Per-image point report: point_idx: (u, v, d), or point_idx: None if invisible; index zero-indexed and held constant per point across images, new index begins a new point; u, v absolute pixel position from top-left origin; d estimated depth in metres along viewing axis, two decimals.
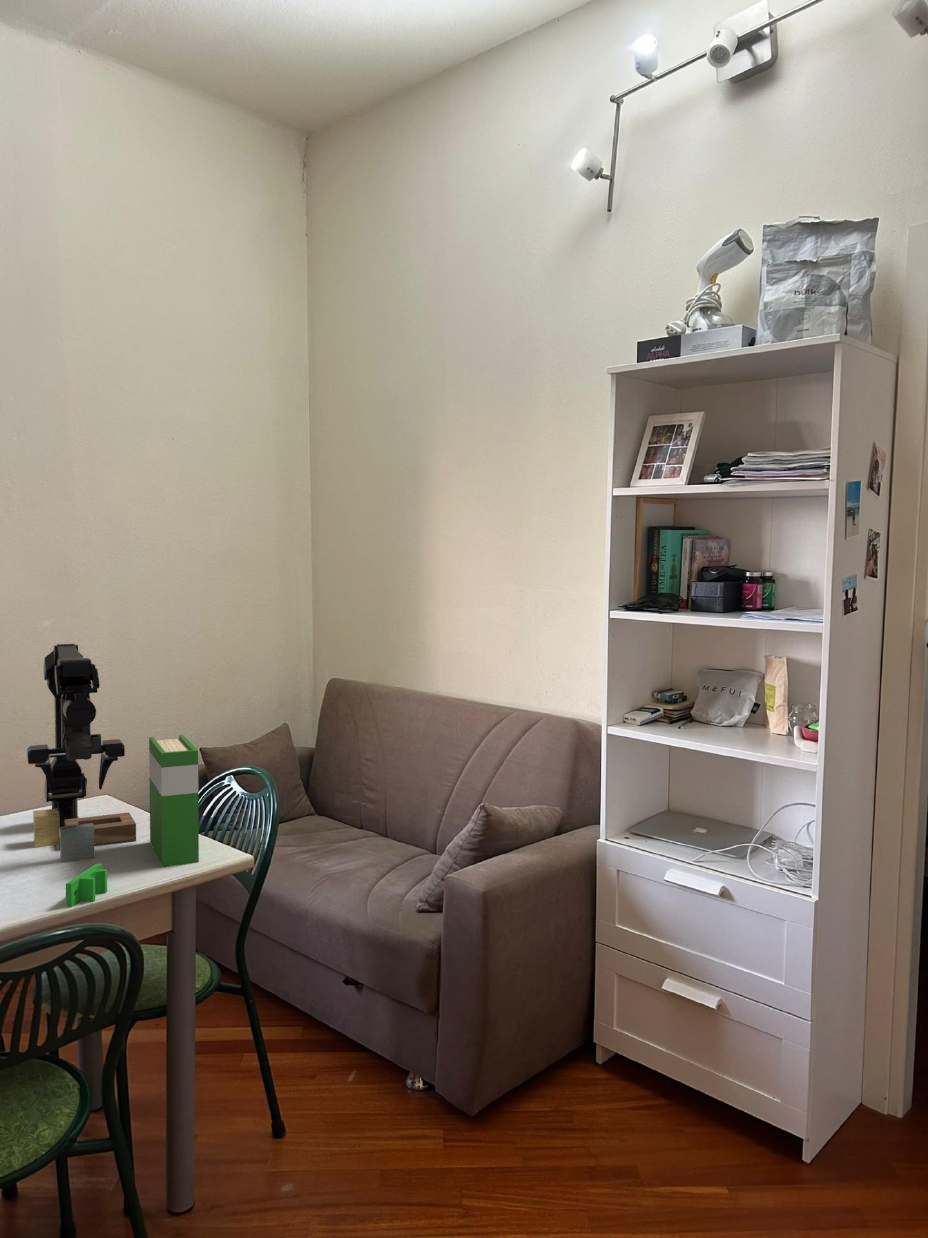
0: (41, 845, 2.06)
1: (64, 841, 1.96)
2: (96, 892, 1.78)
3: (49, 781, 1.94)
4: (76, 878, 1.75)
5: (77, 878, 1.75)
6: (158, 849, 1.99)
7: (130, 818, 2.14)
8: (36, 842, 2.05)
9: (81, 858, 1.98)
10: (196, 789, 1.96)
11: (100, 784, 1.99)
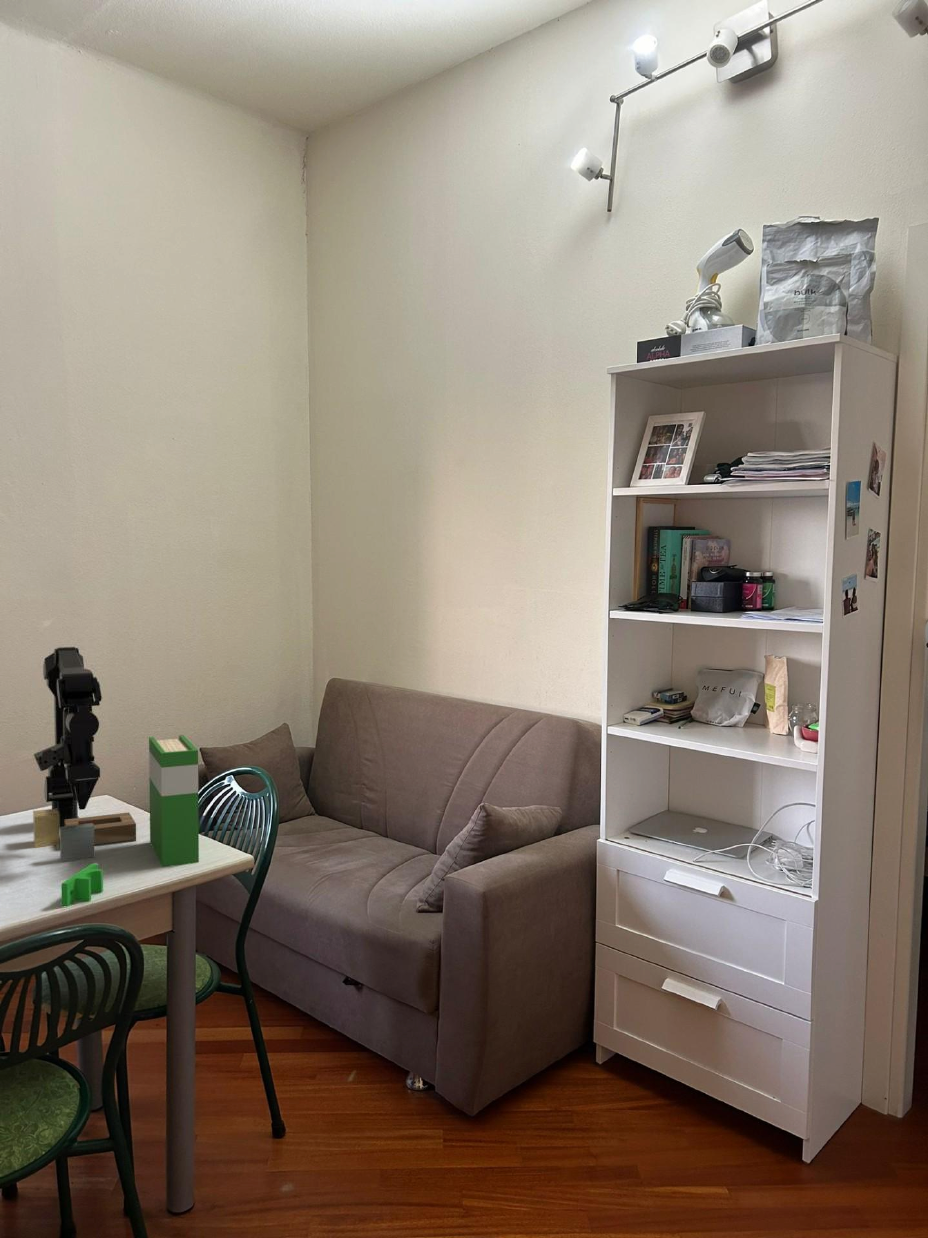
0: (41, 845, 2.06)
1: (64, 841, 1.96)
2: (92, 892, 1.79)
3: (70, 786, 2.02)
4: (72, 878, 1.75)
5: (73, 878, 1.75)
6: (158, 849, 1.99)
7: (130, 818, 2.14)
8: (36, 842, 2.05)
9: (81, 858, 1.98)
10: (196, 789, 1.96)
11: None
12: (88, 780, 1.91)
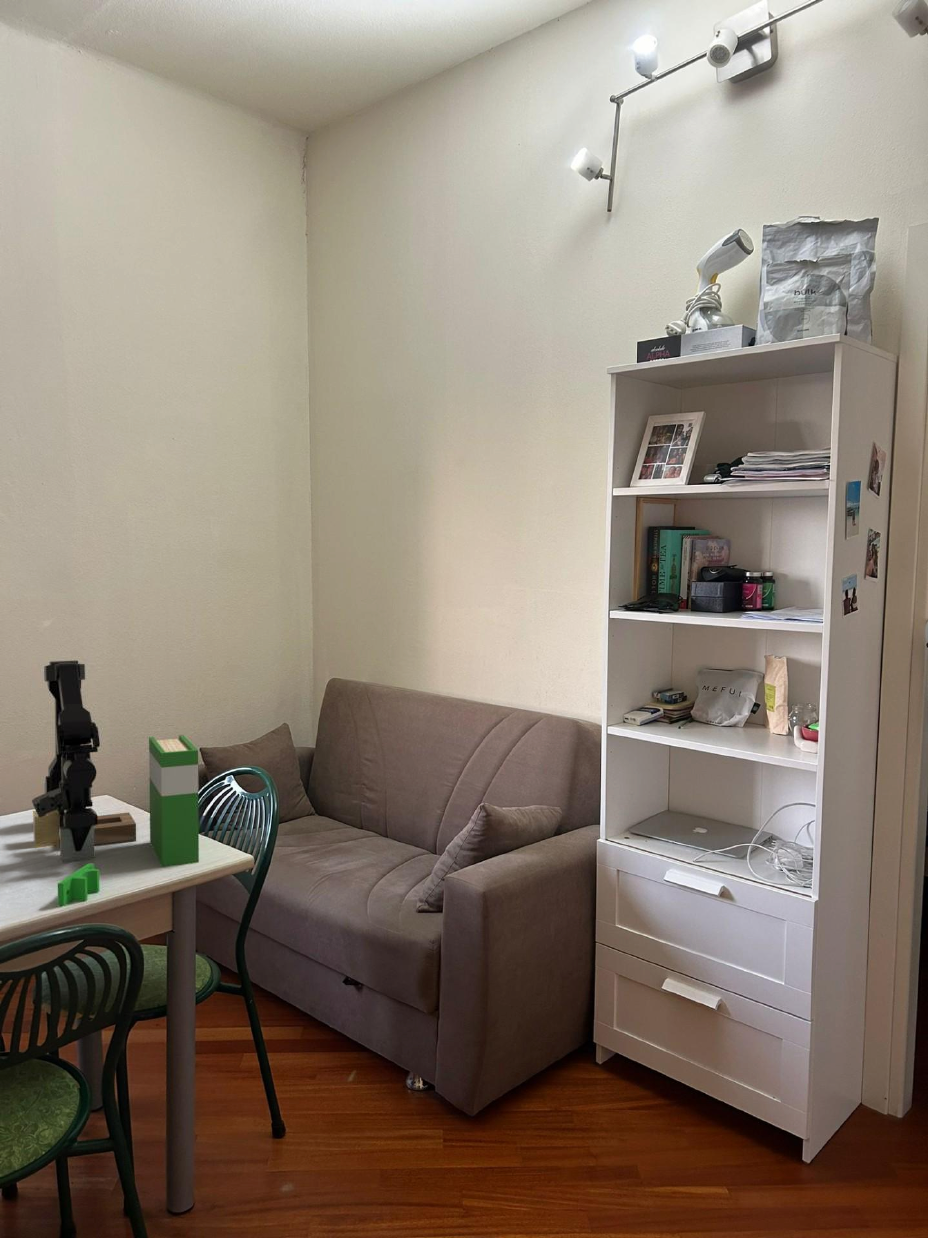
0: (41, 845, 2.06)
1: (64, 841, 1.96)
2: (88, 892, 1.79)
3: None
4: (68, 878, 1.75)
5: (69, 878, 1.75)
6: (158, 849, 1.99)
7: (130, 818, 2.14)
8: (36, 842, 2.05)
9: (81, 858, 1.98)
10: (196, 789, 1.96)
11: None
12: None
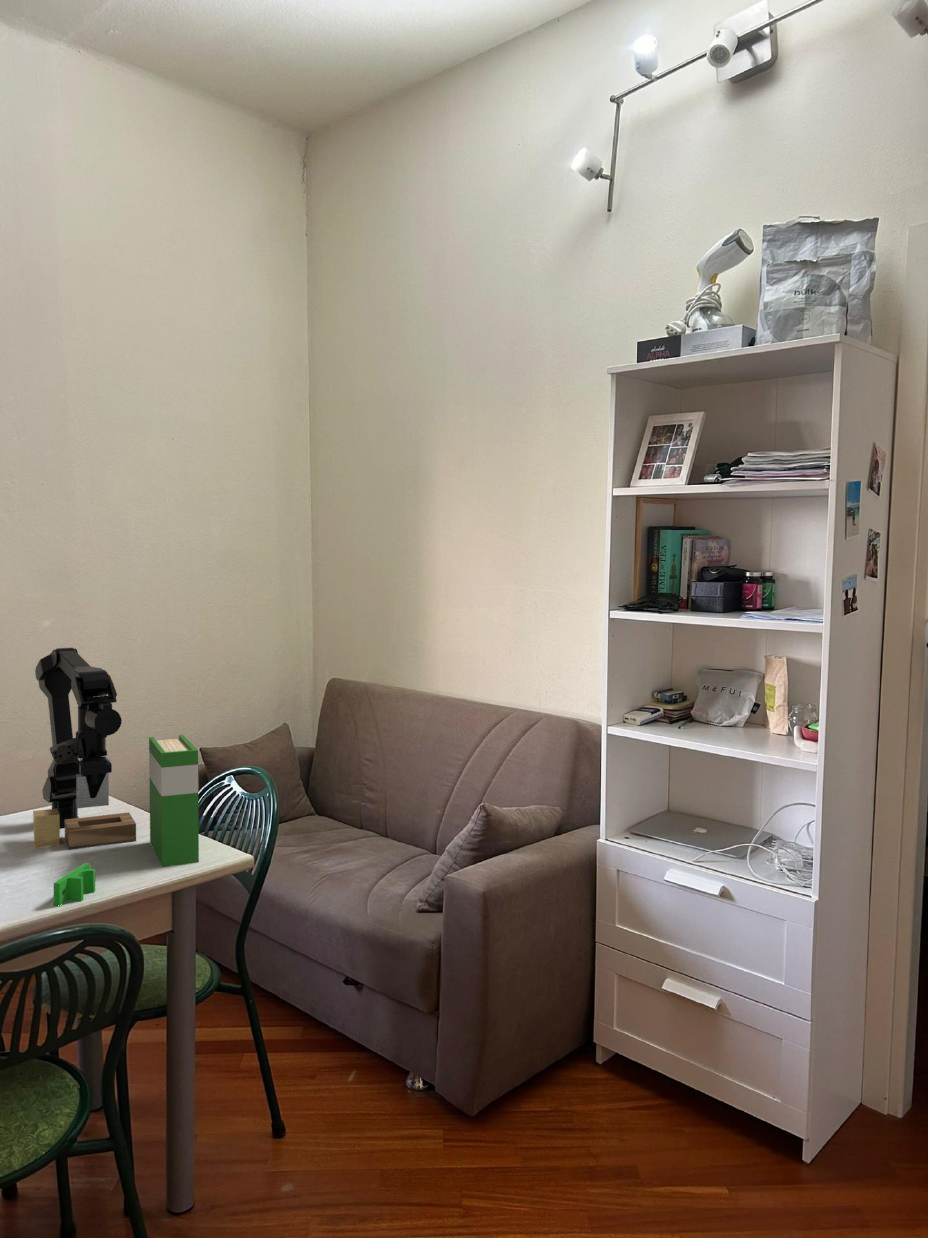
0: (41, 845, 2.06)
1: (80, 788, 2.05)
2: (84, 891, 1.79)
3: None
4: (64, 877, 1.75)
5: (65, 877, 1.75)
6: (158, 849, 1.99)
7: (130, 818, 2.14)
8: (36, 842, 2.05)
9: (96, 804, 2.07)
10: (196, 789, 1.96)
11: None
12: None
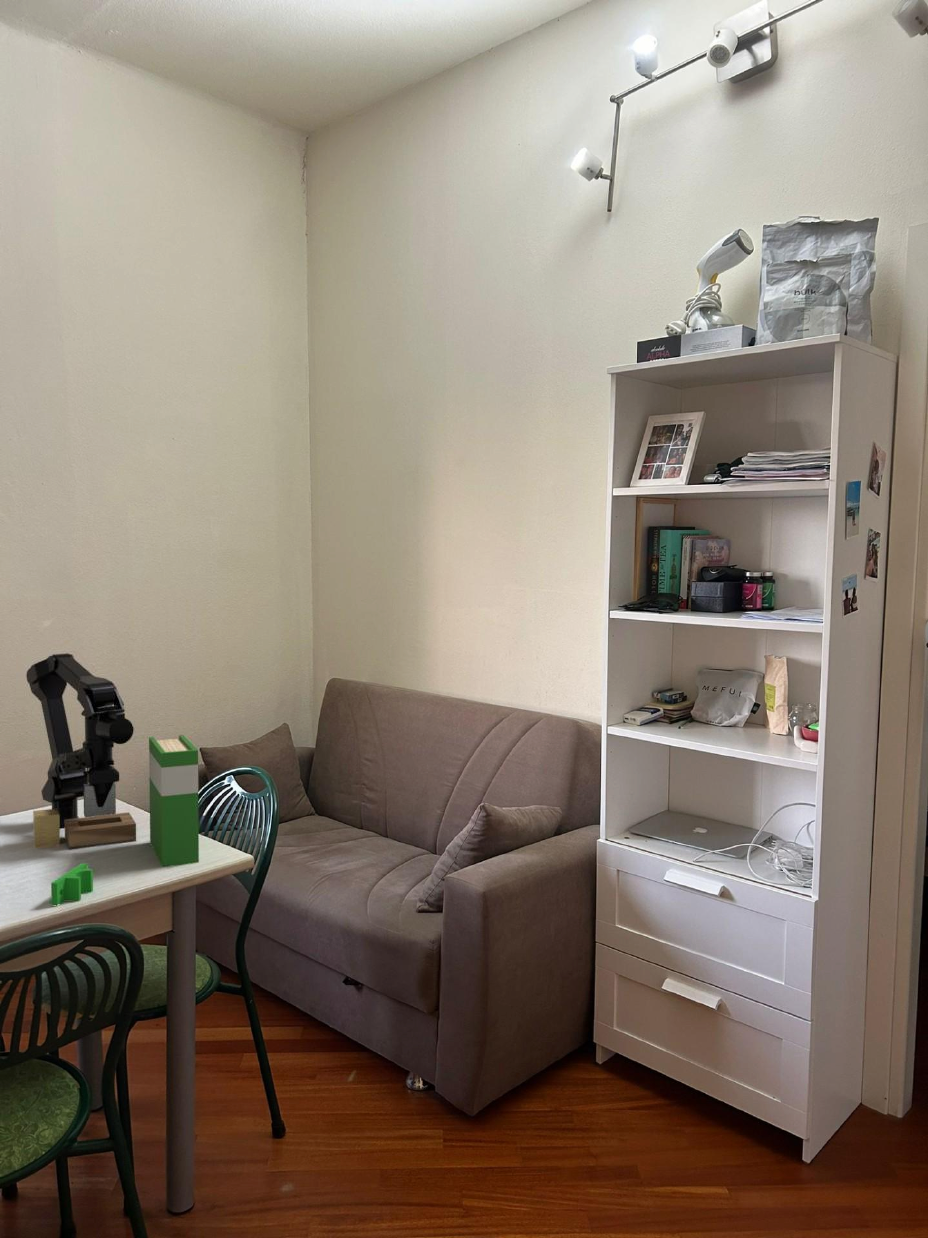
0: (41, 845, 2.06)
1: (87, 797, 2.09)
2: (82, 891, 1.79)
3: None
4: (62, 877, 1.75)
5: (63, 877, 1.75)
6: (158, 849, 1.99)
7: (130, 818, 2.14)
8: (36, 842, 2.05)
9: (103, 813, 2.11)
10: (196, 789, 1.96)
11: None
12: None
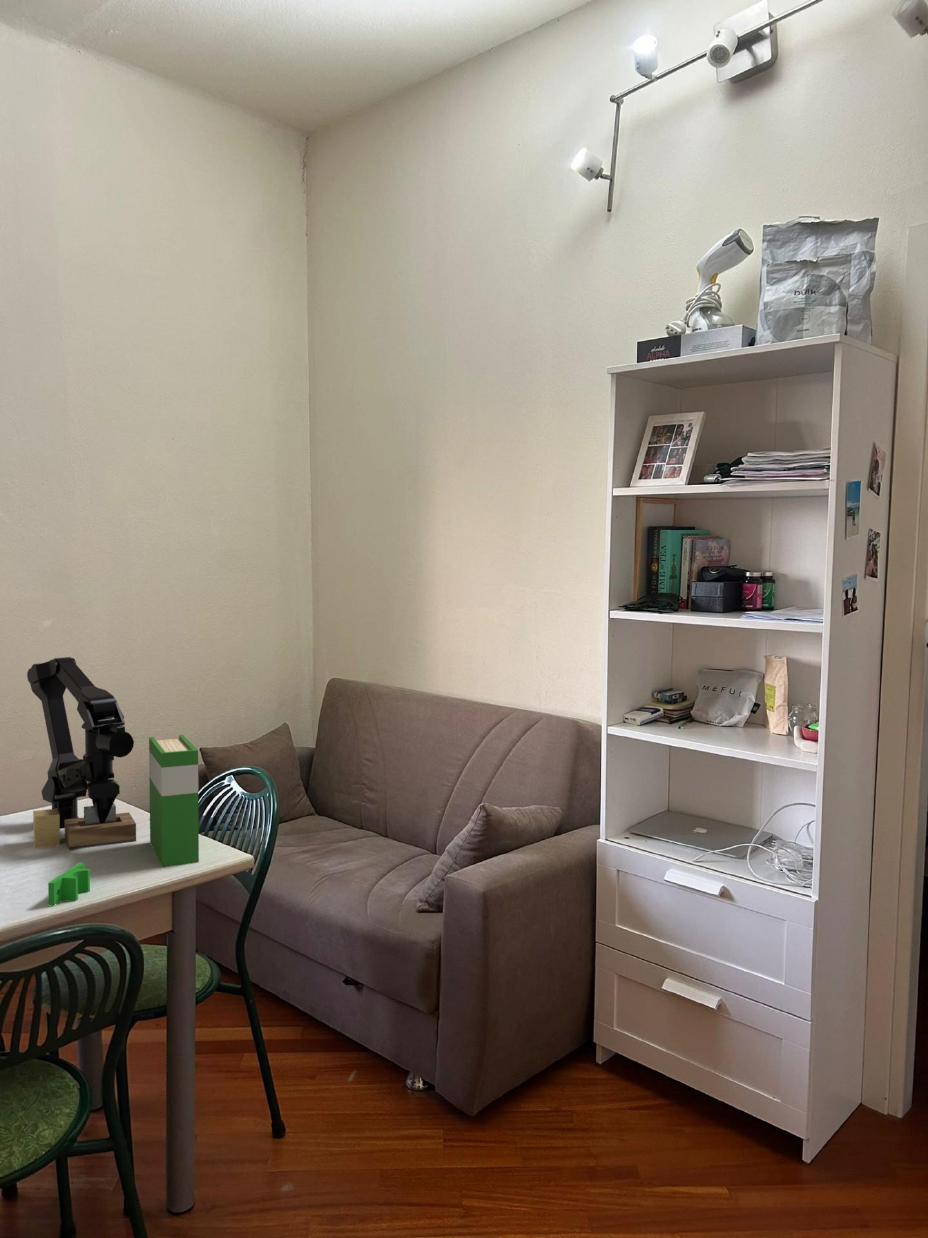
0: (41, 845, 2.06)
1: (88, 820, 2.09)
2: (79, 891, 1.79)
3: (92, 800, 2.15)
4: (59, 877, 1.75)
5: (60, 877, 1.75)
6: (158, 849, 1.99)
7: (130, 818, 2.14)
8: (36, 842, 2.05)
9: None
10: (196, 789, 1.96)
11: None
12: (108, 796, 2.05)
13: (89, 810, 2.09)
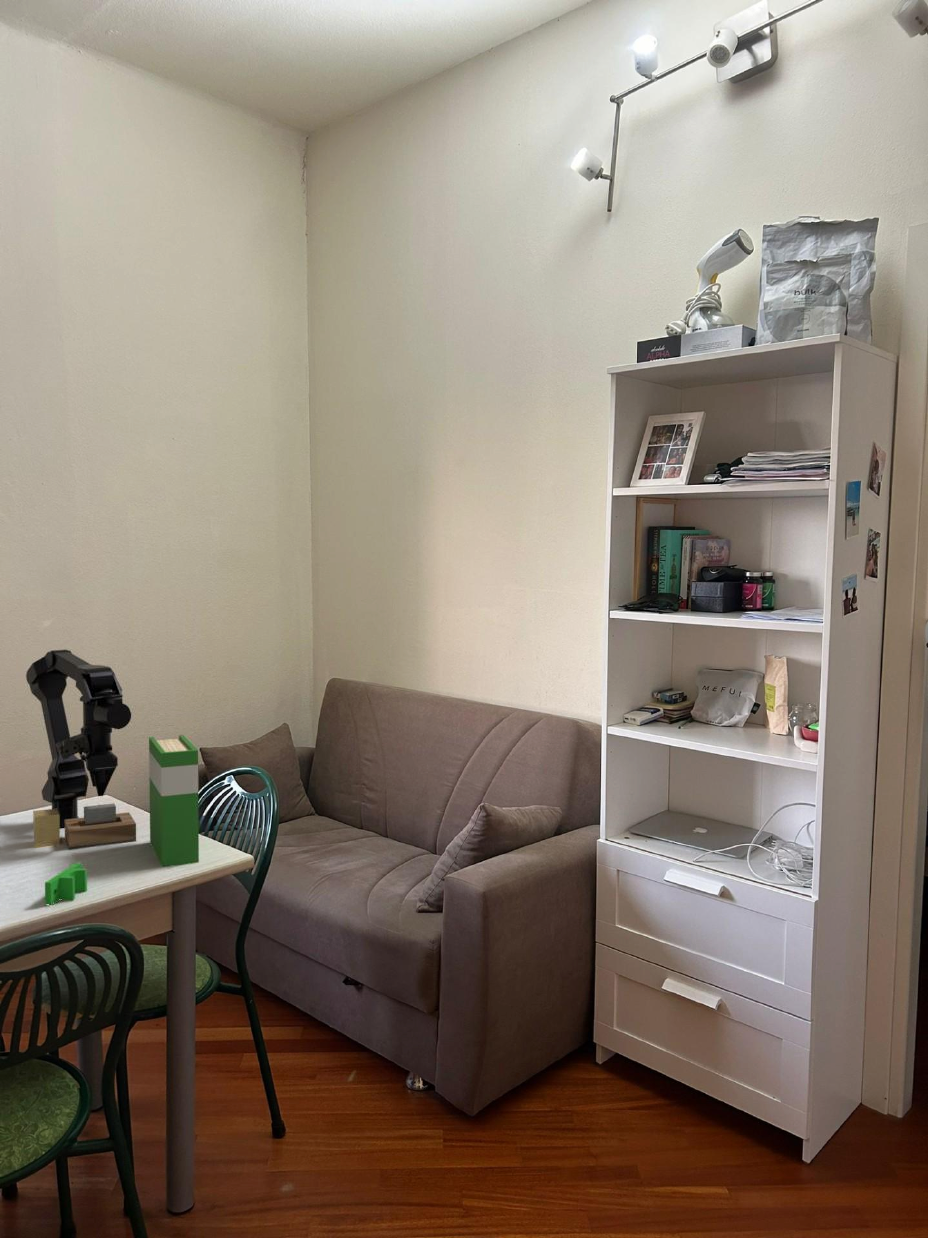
0: (41, 845, 2.06)
1: (88, 820, 2.09)
2: (76, 891, 1.79)
3: None
4: (56, 877, 1.75)
5: (57, 877, 1.75)
6: (158, 849, 1.99)
7: (130, 818, 2.14)
8: (36, 842, 2.05)
9: None
10: (196, 789, 1.96)
11: None
12: (106, 769, 2.04)
13: (89, 810, 2.09)
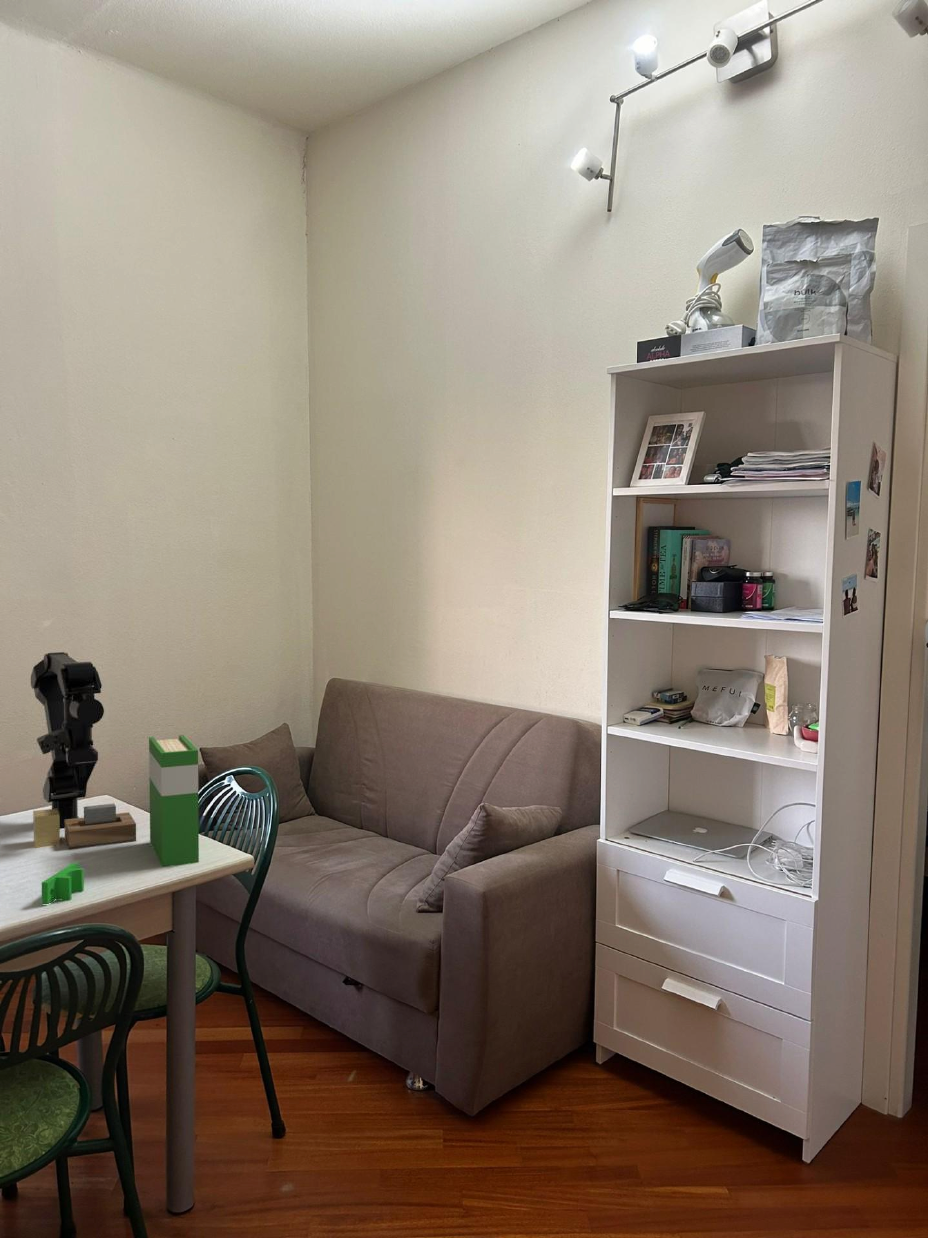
0: (41, 845, 2.06)
1: (88, 820, 2.09)
2: (72, 891, 1.79)
3: (71, 768, 2.16)
4: (52, 877, 1.75)
5: (53, 877, 1.75)
6: (158, 849, 1.99)
7: (130, 818, 2.14)
8: (36, 842, 2.05)
9: None
10: (196, 789, 1.96)
11: None
12: (87, 763, 2.04)
13: (89, 810, 2.09)
